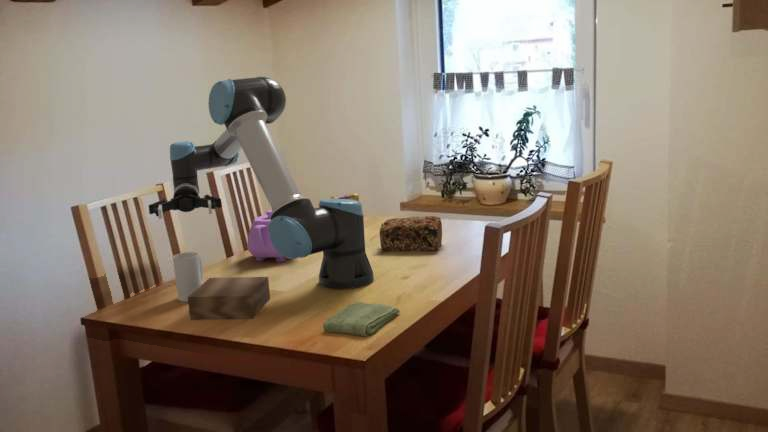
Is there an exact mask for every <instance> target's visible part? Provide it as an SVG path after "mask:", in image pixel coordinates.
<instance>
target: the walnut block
mask: <svg viewBox="0 0 768 432" xmlns="http://www.w3.org/2000/svg"><path fill="white" fill-rule="evenodd" d="M269 282H270V281H269V276H241V277H240V276H239V277H237V276H236V277H235V276H234V277H233V276H232V277H231V276H230V277H209V278H207V279H206V280H205V281H204V282H202V283H201V286H200V287H198V288H197V289H196V290H195V291H194V292H193V293H192V294H190V295H189V296H188V302H187V303H188V311H189V312H188V313H189V320H190V321H216V320H217V321H218V320H219V321H220V320H223V321H227V320H230V321H231V320H254V319H255V317H256V316H257V315H258V314H259V312H260V311H261V310H262V309H263V308H264V307H265V305H266V304H267V303H268V302H269V301H270V299H271V295H270V292H271V291H270V284H269Z"/></svg>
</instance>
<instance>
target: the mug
mask: <svg viewBox="0 0 768 432" xmlns="http://www.w3.org/2000/svg"><path fill="white" fill-rule="evenodd" d="M200 256H201V255H200V254H199V253H198V252H195V251H194V252H193V251H188V252H187V251H186V252H181V253H176V254H174V255H173V256H172V261H173V262H172V263H173V270H174V276H175V283H176V289H177V297H178V301H179V302H184V303H188V296H189V295H190V294H192V293H193V292H194V291H195V290H196V289H197V288H198V287H200V286H201V285H202V284H203V278H204V266H203V261H202V259H201V257H200Z"/></svg>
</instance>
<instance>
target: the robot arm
mask: <svg viewBox="0 0 768 432" xmlns="http://www.w3.org/2000/svg"><path fill="white" fill-rule="evenodd" d="M286 105H287V98H286V93H285V90H284V88H283V87H282V86H281V84H280V83H279V82H278V81H277V80H274V79H273V78H270V77H266V76H257V77H247V78H237V79H231V78H228V79H227V80H219V81H217V82H215V83H214V84H213V85H212V87H211V89H210V92H209V96H208V110H209V111H208V112H209V115H210V118H211V120H212V121H213V122H214V123H215V124H217V125H220V126H223V125H224V127H225V128H226V129H225V131H223V133H221V134H220V135H219V137H218V138H217V139H216V140H215V141H214V142H213V143H211V144H204V145H196V146H195V143H194V142H192V141H178V142H173V143H171V144H170V146H169V159H170V166H171V172H172V185H173V196H172V198H171V199H170V200H168V199H167V198H162V199H160V200H158V201H155V202H153V203H151V204H149V205H148V213H149V215H153V214H154V215H155V216H156V217H158V220H163V215H164V214H163V213H166V212H169V211H180V212H183V213H189V212H192V211H194V210H195V209H199V208H204V209H206V208H207V209H208V215H212V214H213V212H212V211H213V210H216V208H218V209H220V208H223V206H222V199H221V198H219V197H216V196H212V195H210V194H205V195H203V197H201V196H200V186H199V180H198V178H199V177H198V171H203V170H210V169H214V168H221V167H228V166H231V165H235V164H236V163H237V162H238V158H239V156H240V154H239V152H240V151H241V150H243V153H244V155H245V157H246V159H247V161H248V163H249V165H250V167H251V169H252V171H253V173H254V175H255V177H256V179H257V181H258V183H259V185H260V188H261V190H262V191H263V194H264V196H265V198H266V201H267V202H268V203H269V206H270V208H271V210H272V212H271V215H270V220H271V222H270V224H269V227H268V232H269V233H270V235H269V238H270V241H271V243H272V245H273V247H274V248H275V250H276V251H277V252H278V253H279V254H280V255H282V256H283V257H285V259H288V260H289V259H290V260H294V259H302V258H306V257H308V256H311V255H314V254H318V253H321V252H322V253H323V254H322V255H323V256H322V260H321V264H320V268H319V272H318V283H319V285H320V286H321V287H323V288H326V289H333V290H347V289H355V288H360V287H364V286H367V285H369V284H371V283H372V282H373V281H374V279H375V278H374V271H373V267H372V266H371V263H370V260H369V258H368V255H367V253H366V242H365V239H366V238H365V226H364V225H365V224H364V223H365V222H364V221H365V220H364V218H365V217H364V214H363V205H362V203H361V202H360V201H359V202H358V201H356V200H350V199H331V198H324V199H321V200H319V203H318V206H319V207H314V205H313V203H312V201H311V199H310V198H309V197H306V196H303V195H302V194H301V192H300V189H299V188H298V186H297V183H296V182H295V180H294V178H293V176H292V174H291V172H290V169H289V168H288V166H287V164H286V161H285V160H284V157H283V156H282V153H281V152H280V150H279V148H278V145H277V144H276V142H275V140H274V137H273V136H272V134H271V132H270V130H269V128H268V126H267V125H270V124H273V123H274V122H275V121H277V119H279V118H280V116H282V114H283V112H284V111H285V107H286Z"/></svg>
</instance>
